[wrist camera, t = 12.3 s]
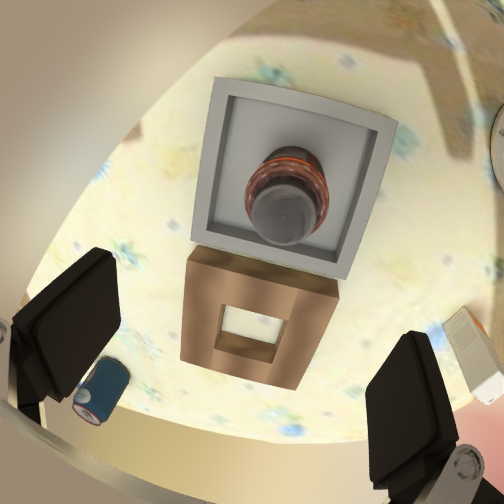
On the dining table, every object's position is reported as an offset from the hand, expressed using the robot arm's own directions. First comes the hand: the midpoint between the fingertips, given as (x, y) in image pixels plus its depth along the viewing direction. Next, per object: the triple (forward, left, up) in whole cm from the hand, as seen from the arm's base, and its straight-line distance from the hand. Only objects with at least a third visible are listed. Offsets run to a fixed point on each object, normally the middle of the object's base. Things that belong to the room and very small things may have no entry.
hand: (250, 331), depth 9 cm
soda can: (+22, +40, -22) cm, 51 cm away
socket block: (0, +18, -22) cm, 28 cm away
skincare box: (-28, +12, -22) cm, 38 cm away
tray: (0, 0, -22) cm, 22 cm away
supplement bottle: (0, 0, -22) cm, 22 cm away
